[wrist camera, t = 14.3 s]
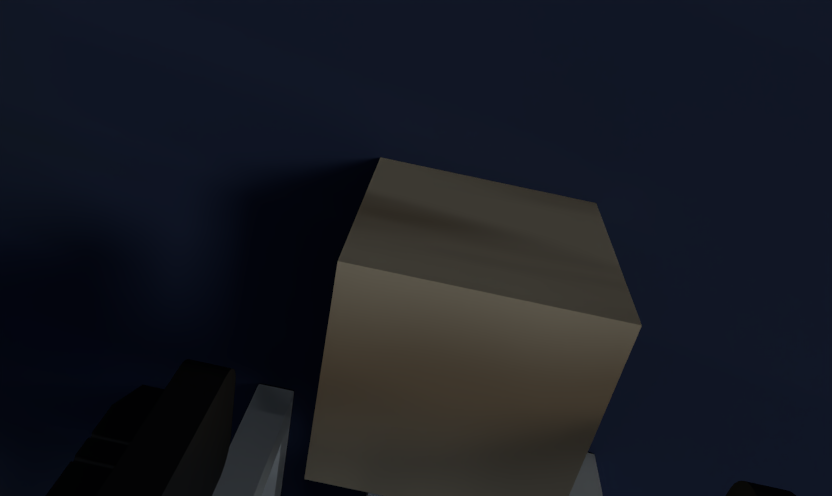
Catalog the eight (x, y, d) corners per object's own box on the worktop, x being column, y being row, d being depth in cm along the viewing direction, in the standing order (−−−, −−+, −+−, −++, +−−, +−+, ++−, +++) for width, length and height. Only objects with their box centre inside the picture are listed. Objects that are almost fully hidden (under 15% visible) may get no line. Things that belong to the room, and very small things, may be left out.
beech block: (536, 372, 17) (553, 531, 13) (350, 333, 17) (304, 479, 13) (595, 201, 15) (641, 324, 11) (380, 156, 15) (337, 261, 11)
